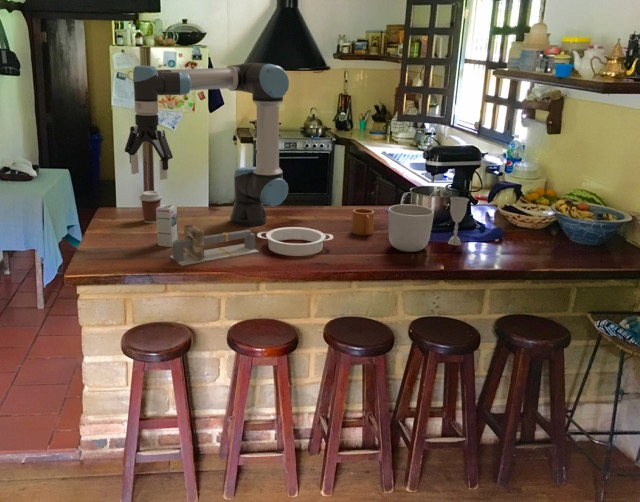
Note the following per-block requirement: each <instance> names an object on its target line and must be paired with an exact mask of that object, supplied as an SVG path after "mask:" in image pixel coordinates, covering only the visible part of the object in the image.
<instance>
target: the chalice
mask: <svg viewBox="0 0 640 502" xmlns="http://www.w3.org/2000/svg"><path fill="white" fill-rule="evenodd" d="M449 199H450V207H449V208H450V209H449V212H450V216H451V218H452V221H453V222H455V224H454V230H453V233H454V234H453V235H452V236H451V237H450V238H449V240H448V241H447V243H448V244H449V245H451V246H460V245H462V242H461V239H460V237H458V232H459V231H458V229H459V223H461V222H462V220H463V218H464V217H465V215H466V213H467V207H468V203H469V201H470V199H469V198H468V197H463V196H450V198H449Z"/></svg>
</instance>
